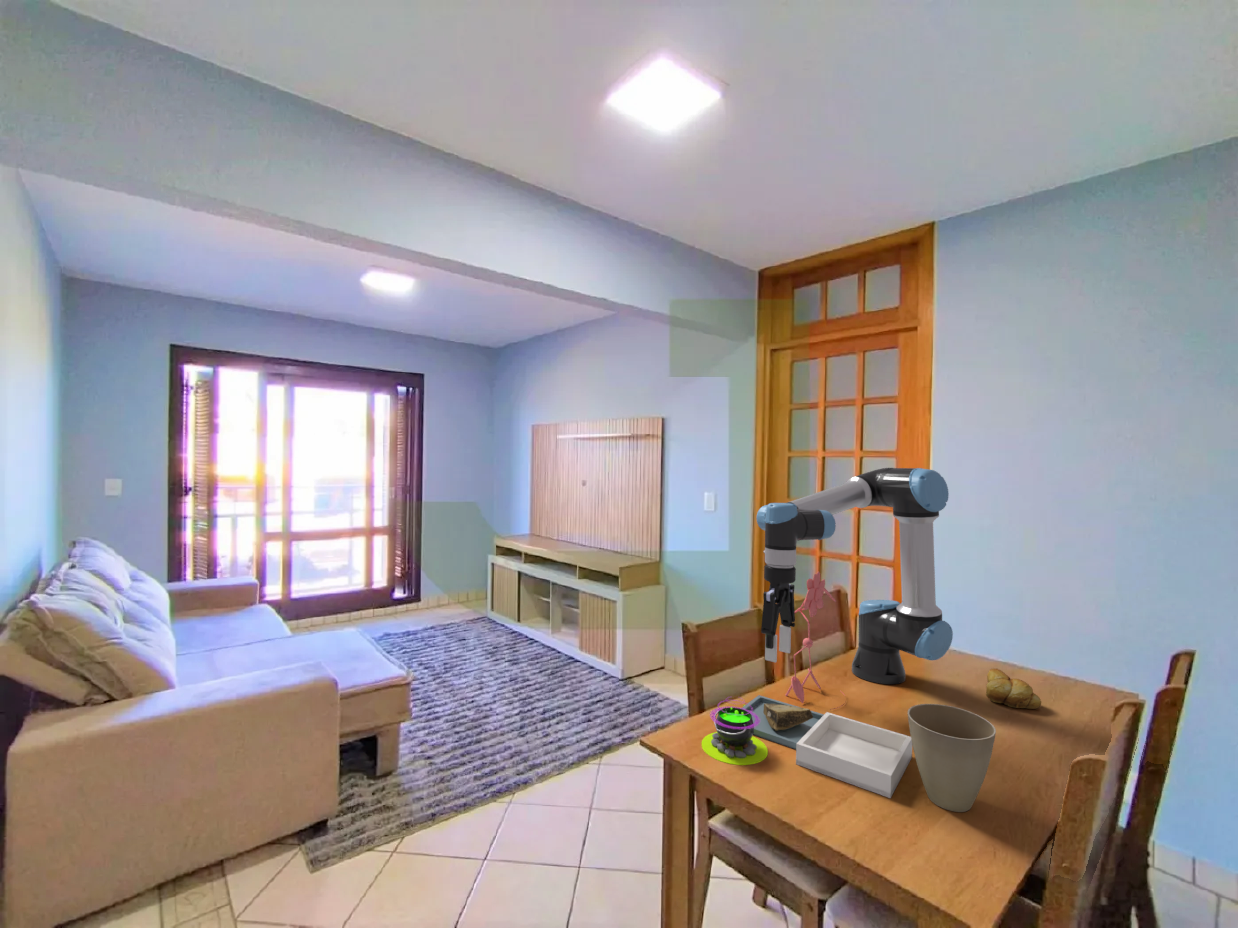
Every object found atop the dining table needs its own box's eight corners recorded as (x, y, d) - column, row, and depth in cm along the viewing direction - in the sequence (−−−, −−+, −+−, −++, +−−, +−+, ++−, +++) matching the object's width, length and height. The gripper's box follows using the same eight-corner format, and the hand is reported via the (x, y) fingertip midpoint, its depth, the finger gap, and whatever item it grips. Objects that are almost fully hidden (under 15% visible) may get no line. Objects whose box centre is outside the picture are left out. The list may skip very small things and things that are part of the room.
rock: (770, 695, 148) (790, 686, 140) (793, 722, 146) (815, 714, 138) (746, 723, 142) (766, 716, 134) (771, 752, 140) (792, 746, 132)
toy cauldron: (689, 737, 133) (690, 691, 133) (743, 727, 138) (744, 683, 138) (722, 770, 119) (724, 719, 119) (781, 758, 124) (782, 709, 124)
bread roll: (1044, 706, 154) (1044, 677, 154) (1036, 717, 147) (1036, 687, 147) (989, 691, 163) (990, 664, 163) (979, 701, 157) (980, 672, 156)
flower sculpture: (767, 703, 152) (770, 575, 152) (811, 678, 170) (813, 563, 170) (822, 723, 141) (825, 584, 141) (862, 694, 160) (865, 571, 159)
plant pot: (915, 770, 120) (917, 696, 120) (998, 798, 111) (1000, 718, 111) (896, 802, 109) (898, 720, 109) (987, 836, 99) (990, 747, 99)
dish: (826, 730, 138) (826, 711, 138) (911, 756, 126) (912, 737, 126) (795, 763, 122) (796, 743, 122) (890, 798, 110) (891, 775, 110)
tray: (758, 700, 154) (758, 694, 154) (828, 721, 142) (828, 715, 142) (726, 725, 139) (726, 719, 139) (801, 751, 127) (801, 744, 127)
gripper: (782, 557, 150) (780, 642, 150) (747, 568, 134) (745, 663, 134) (810, 561, 145) (807, 649, 146) (777, 573, 129) (775, 671, 130)
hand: (777, 655), depth 140 cm, fingers open, 8 cm apart
